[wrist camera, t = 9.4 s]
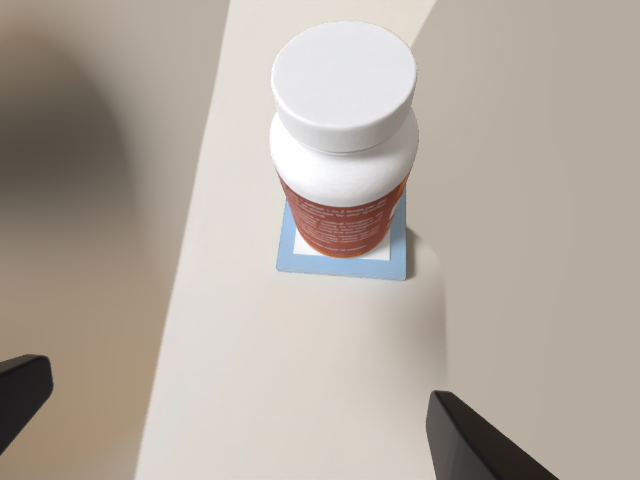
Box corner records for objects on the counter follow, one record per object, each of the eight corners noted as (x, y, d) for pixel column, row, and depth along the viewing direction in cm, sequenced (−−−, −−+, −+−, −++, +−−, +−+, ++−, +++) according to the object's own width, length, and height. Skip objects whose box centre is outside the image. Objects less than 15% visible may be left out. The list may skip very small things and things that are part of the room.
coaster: (403, 280, 19) (406, 277, 18) (278, 271, 20) (275, 267, 19) (403, 171, 22) (406, 163, 21) (293, 166, 23) (291, 159, 22)
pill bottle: (401, 252, 19) (473, 130, 9) (303, 270, 19) (255, 168, 9) (379, 168, 21) (414, -11, 11) (290, 183, 21) (241, 20, 11)
